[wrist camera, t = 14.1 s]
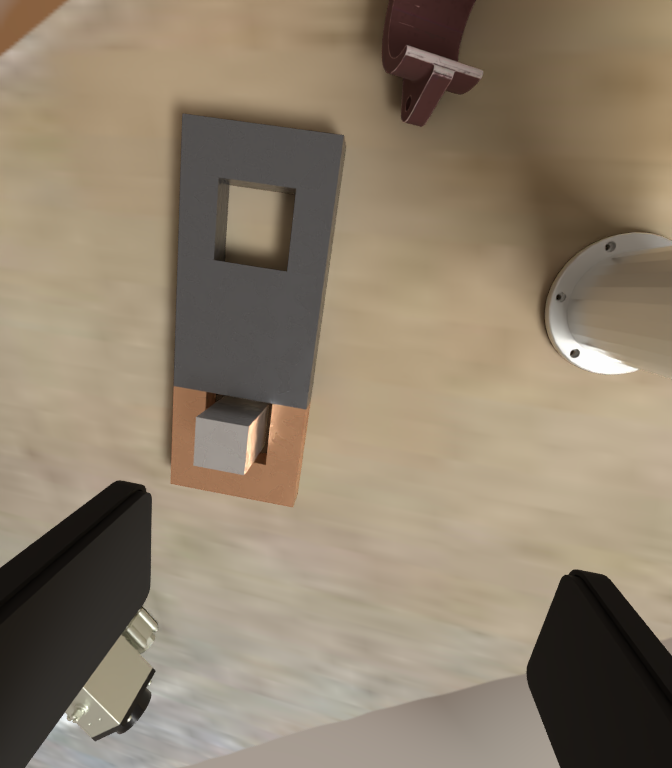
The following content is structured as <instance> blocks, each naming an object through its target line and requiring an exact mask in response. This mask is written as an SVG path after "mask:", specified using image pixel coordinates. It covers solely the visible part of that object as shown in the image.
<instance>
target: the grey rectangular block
mask: <svg viewBox="0 0 672 768" xmlns="http://www.w3.org/2000/svg"><path fill="white" fill-rule="evenodd" d="M269 405H270V403H265V402H260V401H254V400H248V399H243V398H237V397H232V396H226V395H225V396H224V397H223V398H221V399H220V400H219V401H217V402H216V403H214V404H213V405H212V406H210V407H209V408H208V409H206V410H205V411H204V412H202V413H201V414H199V415H198V416H197V417H196V426H195V445H194V464H193V466H198V467H203V468H209V469H214V470H219V471H224V472H230V473H235V474H240V475H245V473H246V472H247V471H248V469H249V468H250V466H251V465H252V463H253V462H254V460H255V459H256V457H257V456H258V454H259V453H260V452H261V450H262V449H263V447H264V446H265V442H266V433H267V423H268V414H269Z"/></svg>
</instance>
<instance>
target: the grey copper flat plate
mask: <svg viewBox="0 0 672 768" xmlns="http://www.w3.org/2000/svg"><path fill="white" fill-rule="evenodd" d="M345 150H346V144H345V138H344V135H338V134H330V133H323V132H316V131H308V130H301V129H293V128H286V127H279V126H271V125H264V124H256V123H249V122H241V121H234V120H227V119H219V118H212V117H204V116H197V115H190V114H182V142H181V174H180V205H179V236H178V268H177V299H176V330H175V362H174V393H173V424H172V456H171V484H175V485H180V486H185V487H190V488H196V489H201V490H206V491H211V492H216V493H221V494H227V495H232V496H237V497H242V498H247V499H252V500H257V501H263V502H268V503H273V504H278V505H283V506H288V507H293V506H294V503H295V500H296V497H297V494H298V487H299V480H300V473H301V466H302V458H303V451H304V444H305V437H306V430H307V423H308V415H309V408H310V401H311V394H312V387H313V380H314V372H315V365H316V358H317V351H318V344H319V337H320V329H321V322H322V315H323V308H324V301H325V294H326V287H327V279H328V272H329V265H330V258H331V251H332V244H333V236H334V229H335V222H336V215H337V208H338V201H339V193H340V186H341V179H342V172H343V165H344V158H345ZM229 185H233V186H240V187H247V188H254V189H261V190H267V191H274V192H281V193H288V194H295V195H296V196H295V205H294V214H293V223H292V232H291V241H290V250H289V259H288V268H287V272H286V271H280V270H273V269H267V268H261V267H254V266H248V265H241V264H235V263H229V262H224V261H225V245H226V230H227V214H228V199H229ZM216 394H221V395H227V396H232V397H238V398H244V399H249V400H255V401H260V402H266V403H272V404H273V405H272V414H271V423H270V432H269V441H268V450H267V454H266V453H261V452H260V453H259V454H258V456H257V457H256V459H255V460H254V462H253V463H252V465H251V466H250V468H249V469H248V471H247V472H246V473H245V475H240V474H235V473H230V472H224V471H219V470H214V469H209V468H203V467H198V466H193V464H194V445H195V426H196V417H197V416H198V415H199V414H201V413H202V412H204V411H205V410H206V409H208V408H209V407H210V406H212V405H213V404H214V403H215V399H216Z"/></svg>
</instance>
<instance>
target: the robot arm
mask: <svg viewBox="0 0 672 768" xmlns="http://www.w3.org/2000/svg"><path fill="white" fill-rule="evenodd" d="M605 246H607V249H605ZM557 294H558V295H559V298H558V299H557V300H556V296H557ZM545 325H546V329H547V333H548V337H549V339H550V341H551V343H552V345H553V347H554V348H555V349H556V350H557V352H558V353H559V354H560V355H561V356H562V357H563V358H564V359H566V360H567V361H568V362H569V363H571V364H573V365H575V366H577V367H579V368H581V369H583V370H586V371H589V372H592V373H598V374H604V375H619V374H625V373H630V372H634V371H637V370H643V371H646V372H649V373H653V374H656V375H659V376H662V377H665V378H669V379H672V240H670V239H668V238H666V237H664V236H660V235H656V234H652V233H642V232H632V233H625V234H619V235H615V236H611V237H607V238H604V239H602V240H599V241H597V242H595V243H592V244H591V245H589V246H588V247H586V248H584V249H583V250H581V251H580V252H578V253H577V254H576V255H575V256H574V257H573V258H572V259H571V260H569V261H568V262H567V263H566V265H565V266H564V267H563V268H562V270H561V271H560V272H559V273H558V275H557V277H556V279H555V280H554V282H553V284H552V286H551V288H550V291H549V294H548V297H547V301H546V307H545ZM571 351H572V354H570V352H571ZM151 514H152V497H151V494H150V493H147V492H146V488H145V486H143V485H141V484H136V483H131V482H126V481H116V482H114V483H112V484H111V485H110V486H108V487H107V488H106V489H104V490H103V491H102V492H100V493H99V494H98V495H96V496H95V497H94V498H92V499H91V500H90V501H88V502H87V503H86V504H84V505H83V506H82V507H80V508H79V509H78V510H76V511H75V512H74V513H72V514H71V515H70V516H68V517H67V518H66V519H64V520H63V521H62V522H60V523H59V524H58V525H56V526H55V527H54V528H52V529H51V530H50V531H48V532H47V533H46V534H45V535H43V536H42V537H41V538H39V539H38V540H37V541H35V542H34V543H33V544H31V545H30V546H29V547H27V548H26V549H25V550H23V551H22V552H21V553H19V554H18V555H17V556H15V557H14V558H13V559H11V560H10V561H9V562H7V563H6V564H5V565H3V566H2V567H1V568H0V768H25V767H26V765H27V764H28V762H29V761H30V760H31V758H32V757H33V756H34V754H35V753H36V751H37V750H38V749H39V747H40V746H41V745H42V743H43V742H44V740H45V739H46V738H47V736H48V735H49V733H50V732H51V731H52V729H53V728H54V727H55V725H56V724H57V722H58V721H59V720H60V718H61V717H62V716H63V714H64V713H65V711H66V710H67V709H68V707H69V706H70V705H71V703H72V702H73V700H74V699H75V698H76V696H77V695H78V693H79V692H80V691H81V689H82V688H83V687H84V685H85V684H86V682H87V681H88V680H89V678H90V677H91V676H92V674H93V673H94V671H95V670H96V669H97V667H98V666H99V665H100V663H101V662H102V660H103V659H104V658H105V656H106V655H107V653H108V652H109V651H110V649H111V648H112V647H113V645H114V644H115V642H116V641H117V640H118V638H119V637H120V636H121V634H122V633H123V631H124V630H125V629H126V627H127V626H128V625H129V623H130V622H131V620H132V619H133V618H134V616H135V615H136V613H137V612H138V611H139V609H140V608H141V607H142V605H143V604H144V602H145V600H146V598H147V596H148V593H149V590H150V576H151ZM527 680H528V685H529V688H530V691H531V693H532V696H533V698H534V701H535V703H536V706H537V709H538V711H539V714H540V717H541V719H542V722H543V724H544V726H545V729H546V732H547V735H548V737H549V740H550V742H551V745H552V747H553V750H554V753H555V755H556V758H557V760H558V763H559V765H560V768H672V656H671V654H670V653H669V652H668V651H667V649H666V648H665V647H664V646H663V645H662V643H661V642H660V641H659V639H658V638H657V637H656V636H655V635H654V633H653V632H652V631H651V630H650V628H649V627H648V626H647V625H646V623H645V622H644V621H643V620H642V618H641V617H640V616H639V615H638V613H637V612H636V611H635V610H634V609H633V607H632V606H631V605H630V604H629V602H628V601H627V600H626V599H625V597H624V596H623V595H622V594H621V592H620V591H619V590H618V589H617V587H616V586H615V585H614V584H613V582H612V581H611V580H610V579H609V578H608V577H607V576H605V575H602V574H598V573H593V572H587V571H582V570H572V571H571V572H570V573H569V575H564V576H563V577H562V578H561V580H560V583H559V585H558V588H557V591H556V593H555V596H554V598H553V601H552V603H551V606H550V609H549V611H548V614H547V616H546V619H545V621H544V624H543V626H542V629H541V632H540V634H539V637H538V639H537V642H536V644H535V647H534V649H533V652H532V655H531V657H530V660H529V662H528V665H527Z"/></svg>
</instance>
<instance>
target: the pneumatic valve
mask: <svg viewBox="0 0 672 768" xmlns="http://www.w3.org/2000/svg"><path fill="white" fill-rule="evenodd" d="M157 625H158V624H157V623H156V622H155V621H154V620H153V619H152V618H151V617H150V616H149V614H148V613H147V612H146V611H145V610H144V609H143V608H140V609H139V611H138V612H137V613H136V615H135V616H134V618H133V619H132V620H131V622H130V623H129V625H128V626H127V627H126V629H125V630H124V631H123V633H122V634H121V636H120V637H119V638H118V640H117V641H116V642H115V644H114V645H113V647H112V648H111V649H110V651H109V652H108V653H107V655H106V656H105V658H104V659H103V660H102V662H101V663H100V665H99V666H98V667H97V669H96V670H95V671H94V673H93V674H92V676H91V677H90V678H89V680H88V681H87V682H86V684H85V685H84V687H83V688H82V689H81V691H80V692H79V693H78V695H77V696H76V698H75V699H74V700H73V702H72V703H71V705H70V706H69V707H68V709H67V710H66V711H65V713H66V714H67V715H68V716H67V720H68V721H71V720H73V721H72V722H73V723H77V724H78V725H79V726H80V727H81V728H82V729H83V730H84V731H85V732H86V733H87V734H88V735H89V736H90V737H91V738H92V739H93V740H94V741H97V740H99V739H101V738H103V737H105V736H108V735H110V734H112V733H114V732H117V733H118V734H122V733H124V732H126V731H127V730H129V729H130V728H131V727H132V726H133V725H134V724H135V723H136V722H137V721H138V719H139V718H140V717H141V715H142V714H143V713H144V711H145V710H146V708H147V706H148V704H149V702H150V699H151V692H150V691H149V690H148V689H147V688H146V687H147V686H149V685H150V684H151V682H152V681H151V678H152V677H153V675H154V673H155V670H154V669H153V668H152V667H151V665H150V664H149V663H148V662H147V661H146V660H145V659H144V658H143V657H142V656H141V655H140V654H141V653H143V652H145V651H146V650H147V649H148V648H149V647H150V646H151V645H152V643H153V642H154V640H155V635H154V634H153V633H152V632H153V631H154V632H155V631H157V630H158V627H157Z"/></svg>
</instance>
